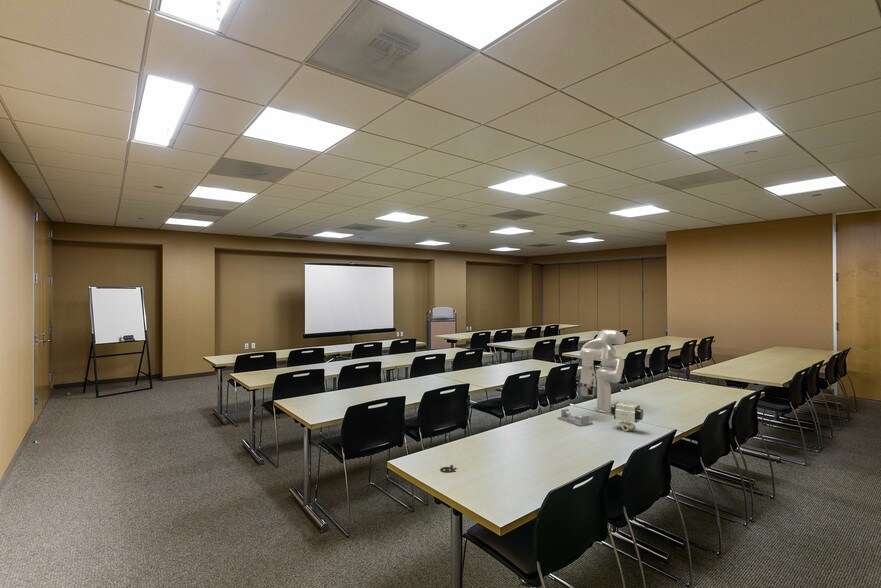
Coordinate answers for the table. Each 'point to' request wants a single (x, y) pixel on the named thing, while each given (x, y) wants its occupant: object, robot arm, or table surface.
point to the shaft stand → (574, 418)
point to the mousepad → (448, 469)
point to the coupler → (586, 391)
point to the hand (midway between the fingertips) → (587, 393)
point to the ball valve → (627, 414)
